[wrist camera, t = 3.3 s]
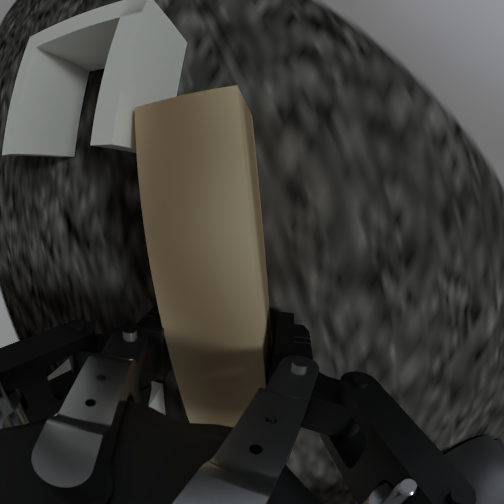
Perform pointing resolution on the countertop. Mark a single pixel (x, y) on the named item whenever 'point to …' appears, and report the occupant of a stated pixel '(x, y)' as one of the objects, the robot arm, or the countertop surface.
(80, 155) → the countertop surface
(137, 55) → the end cap
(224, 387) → the oak bar
